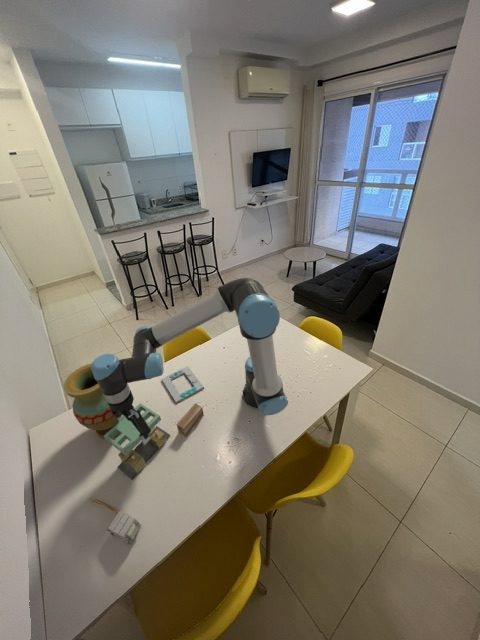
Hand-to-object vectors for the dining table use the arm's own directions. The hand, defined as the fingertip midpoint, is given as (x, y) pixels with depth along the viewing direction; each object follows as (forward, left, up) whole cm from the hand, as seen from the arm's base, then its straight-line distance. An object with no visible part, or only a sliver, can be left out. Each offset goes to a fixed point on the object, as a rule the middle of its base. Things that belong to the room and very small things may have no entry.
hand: (136, 433), depth 96 cm
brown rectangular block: (-8, -19, -13) cm, 24 cm away
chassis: (0, 0, -13) cm, 13 cm away
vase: (+22, -1, -13) cm, 25 cm away
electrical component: (-8, +22, -13) cm, 26 cm away
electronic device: (+11, -34, -13) cm, 38 cm away
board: (0, 0, +3) cm, 3 cm away
